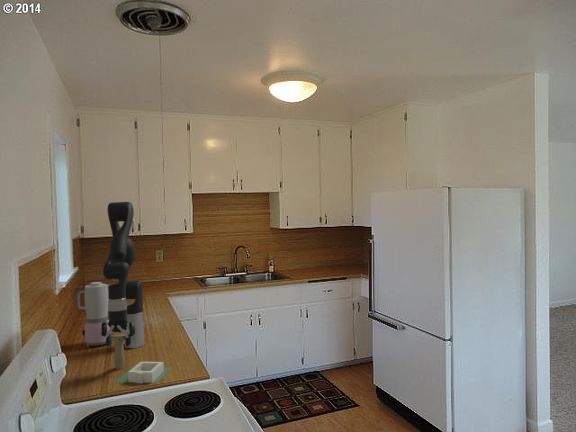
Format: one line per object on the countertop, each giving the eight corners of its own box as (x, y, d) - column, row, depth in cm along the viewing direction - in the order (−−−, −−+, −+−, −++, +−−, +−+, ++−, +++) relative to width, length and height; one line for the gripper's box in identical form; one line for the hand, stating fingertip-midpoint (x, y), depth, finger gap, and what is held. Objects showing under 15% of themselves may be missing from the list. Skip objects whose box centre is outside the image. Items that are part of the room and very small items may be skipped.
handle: (128, 370, 180) (127, 336, 180) (112, 373, 177) (111, 338, 177) (127, 366, 185) (126, 333, 184) (111, 369, 182) (110, 335, 181)
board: (133, 368, 182) (133, 366, 182) (172, 369, 180) (172, 366, 180) (113, 384, 167) (113, 381, 167) (156, 385, 165) (156, 382, 164)
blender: (112, 338, 225) (109, 279, 224) (111, 345, 213) (108, 283, 213) (79, 342, 219) (77, 282, 218) (76, 350, 208) (74, 286, 207)
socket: (141, 370, 177) (141, 361, 177) (163, 371, 176) (163, 362, 176) (127, 382, 165) (126, 373, 165) (151, 383, 164) (151, 373, 164)
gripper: (137, 306, 183) (138, 343, 183) (106, 306, 185) (107, 342, 185) (128, 310, 176) (130, 348, 176) (97, 310, 177) (98, 348, 178)
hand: (118, 345), depth 181 cm, fingers open, 8 cm apart
